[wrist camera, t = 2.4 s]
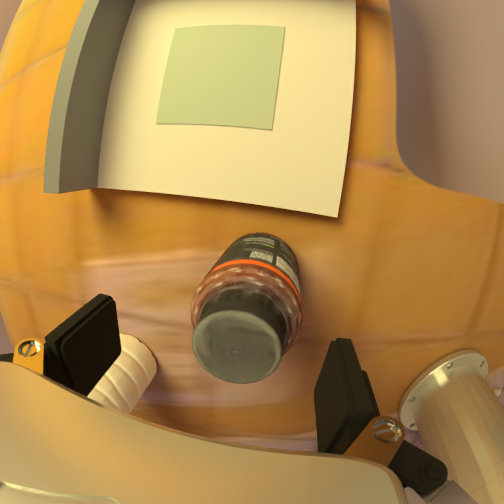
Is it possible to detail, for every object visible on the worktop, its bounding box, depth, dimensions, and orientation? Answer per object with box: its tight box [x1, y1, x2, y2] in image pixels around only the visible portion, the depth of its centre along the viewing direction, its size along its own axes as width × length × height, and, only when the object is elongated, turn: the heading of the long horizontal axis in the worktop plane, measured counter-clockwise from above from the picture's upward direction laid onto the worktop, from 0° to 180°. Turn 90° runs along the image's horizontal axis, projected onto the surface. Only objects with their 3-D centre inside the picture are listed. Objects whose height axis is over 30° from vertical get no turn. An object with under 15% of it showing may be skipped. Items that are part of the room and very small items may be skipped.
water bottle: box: [87, 334, 157, 414], centre depth 15 cm, size 9×6×25 cm
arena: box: [44, 0, 356, 217], centre depth 15 cm, size 22×22×6 cm
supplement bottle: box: [191, 233, 302, 384], centre depth 17 cm, size 6×6×11 cm
